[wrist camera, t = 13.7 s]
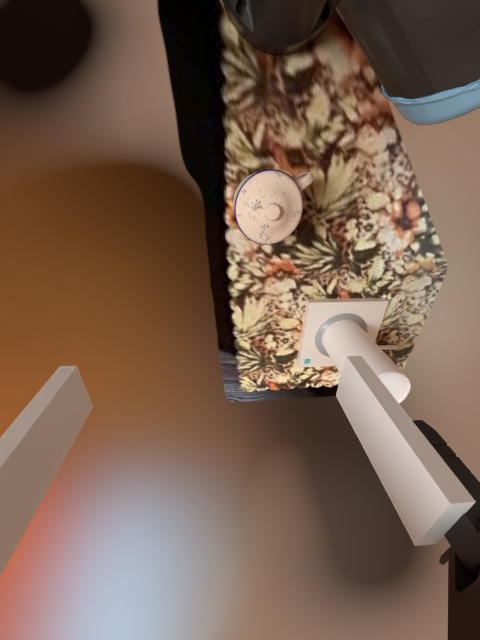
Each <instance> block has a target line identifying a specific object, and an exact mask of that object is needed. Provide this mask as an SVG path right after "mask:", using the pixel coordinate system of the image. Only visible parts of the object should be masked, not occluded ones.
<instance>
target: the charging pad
mask: <svg viewBox="0 0 480 640" xmlns="http://www.w3.org/2000/svg"><path fill="white" fill-rule="evenodd" d="M388 302H389V301H388V300H387V299H385V298H353V299H307V302H306V308H305V314H304V321H303V327H302V333H301V340H300V346H299V352H298V359H297V365H298V367H319V366H335V364H334V363H333V361H332V359H331V358H330V356H329V354H328V353H327V351H326V349H325V348H324V346H323V344H322V336H323V333H324V331H325V330H326V329H327V328H328V327H329V326H330V325H331V324H333V323H335V322H337V321H340V320H352V321H354V322H356V323H357V324H358V325H359V326H360V327H361V328H362V329H363V330H364V331H365V332H366V333H367V335H368V336H369V337H370V338H371V339H372V340H373V341H374V342H375V341H376V338H377V335H378V332H379V329H380V326H381V323H382V320H383V317H384V314H385V311H386V308H387V305H388ZM378 346H379V347H380V348H381V350H387V349H398V345H378Z"/></svg>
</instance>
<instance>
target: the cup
mask: <svg viewBox="0 0 480 640" xmlns="http://www.w3.org/2000/svg"><path fill="white" fill-rule="evenodd" d="M322 344H323V346H324V348H325V349H326V351H327V353H328V354H329V356H330V358H331V359H332V361H333V363H334V364H335V366H336V368H337V369H338V371H339V372H340V374H341V375H342V372H343V368H344V364H345V361H346V357H347V356H362V357H363V359H364V360H365V361H366V362H367V364H368V365H369V366H370V367H371V369H372V370H373V371H374V373H375V374H376V375H377V376H378V378H379V379H380V380H381V381H382V383H383V384H384V385H385V387H386V388H387V389H388V390H389V392H390V393H391V394H392V395H393V397H394V398H395V399H396V401H397V402H398V403H401V402H402V401H403V400H404V399H405V398H406V397H407V395H408V394H409V392H410V388H411V384H410V381H409V379H408V378H407V377H406V375H405V374H404V373H403V372H402V371H401V370H400V369H399V368H398V367H397V366H396V365H395V364H394V362H393V361H392V360H391V359H390V358H389V357H388V356H387V355H386V354H385V353H384V352H383V351H382V350H381V348H380V347H379V346H378V345H377V344H376V343H375V342H374V341H373V340H372V339H371V338H370V337H369V336H368V335H367V333H366V332H365V331H364V330H363V329H362V328H361V327H360V326H359V325H358V324H357V323H356V322H354V321H352V320H340V321H337V322H335V323H333V324H331V325H330V326H329V327H328V328H327V329H326V330H325V331H324V333H323V336H322Z"/></svg>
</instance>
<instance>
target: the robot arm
mask: <svg viewBox="0 0 480 640" xmlns="http://www.w3.org/2000/svg"><path fill="white" fill-rule="evenodd" d="M222 2H223V4H224V7H225V9H226V12H227V14H228V16H229V18H230V20H231V22H232V23H233V25H234V27H235V28H236V30H237V31H238V32H239V34H240V35H241V36H242V37H243V38H244V39H245V40H246V41H247V42H248V43H249V44H251V45H252V46H254V47H255V48H257V49H259V50H261V51H263V52H266V53H270V54H276V55H281V54H288V53H292V52H295V51H297V50H299V49H301V48H303V47H304V46H306V45H307V44H309V43H310V42H311V41H312V40H313V39H315V38H316V37H317V35H318V34H319V33H320V32H321V31H322V30H323V28H324V27H325V26H326V24H327V23H328V21H329V20H330V19H331V17H332V16H333V14H334V12H335V11H337V13H338V14H339V16H340V17H341V19H342V21H343V22H344V24H345V26H346V27H347V29H348V30H349V32H350V34H351V35H352V37H353V38H354V40H355V42H356V43H357V45H358V47H359V48H360V50H361V51H362V53H363V55H364V56H365V58H366V60H367V61H368V63H369V64H370V66H371V68H372V69H373V71H374V72H375V74H376V76H377V77H378V79H379V81H380V82H381V84H382V86H381V88H382V92H383V94H384V96H385V97H386V98H388V99H389V100H390V101H392V102H393V103H394V105H395V106H396V107H397V109H398V110H399V111H400V113H401V115H402V116H403V117H404V118H405V119H406V120H408V121H410V122H412V123H414V124H417V125H431V124H437V123H441V122H445V121H448V120H451V119H454V118H457V117H459V116H462V115H465V114H467V113H469V112H472V111H474V110H476V109H478V108H480V0H222ZM336 397H337V399H338V401H339V402H340V404H341V406H342V408H343V410H344V412H345V414H346V416H347V418H348V419H349V421H350V423H351V425H352V427H353V429H354V431H355V433H356V435H357V436H358V438H359V440H360V442H361V444H362V446H363V448H364V450H365V452H366V454H367V455H368V457H369V459H370V461H371V463H372V465H373V467H374V469H375V471H376V472H377V474H378V476H379V478H380V480H381V482H382V484H383V486H384V487H385V490H386V491H387V493H388V495H389V497H390V499H391V501H392V503H393V504H394V507H395V508H396V510H397V512H398V514H399V516H400V518H401V520H402V522H403V524H404V526H405V527H406V529H407V531H408V533H409V535H410V537H411V538H412V541H413V542H414V544H415V546H419V545H430V544H437V543H438V542H439V541H440V540H441V539H442V538H443V537H444V536H445V537H446V539H447V540H448V542H449V543H450V545H451V547H450V548H449V549H448V550H447V551H446V552H445V553H444V554H443V555H442V556H441V558H440V561H439V563H441V564H443V565H444V564H445V563H446V562H447V561H448V560H449V569H448V572H449V573H448V640H480V482H479V481H478V480H477V479H476V478H475V476H474V475H473V474H472V473H471V472H470V470H469V469H468V468H467V467H466V466H465V465H464V464H463V462H462V461H461V460H460V459H459V458H458V457H456V454H455V453H454V452H453V450H452V449H451V448H450V447H449V446H447V443H446V442H445V441H444V440H443V439H442V437H441V436H440V435H439V434H438V433H437V432H436V431H435V430H434V429H433V428H432V427H430V426H429V425H428V424H426V423H425V422H423V421H422V420H416V421H412V420H411V418H410V417H409V416H408V415H407V413H406V412H405V411H404V410H403V408H402V407H401V406H400V405H399V403H398V402H397V401H396V399H395V398H394V397H393V395H392V394H391V393H390V392H389V390H388V389H387V388H386V387H385V385H384V384H383V383H382V381H381V380H380V379H379V378H378V376H377V375H376V374H375V373H374V371H373V370H372V369H371V367H370V366H369V365H368V364H367V362H366V361H365V360H364V359H363V357H362V356H347V357H346V361H345V364H344V368H343V372H342V375H341V379H340V382H339V386H338V390H337V393H336ZM92 408H93V405H92V403H91V401H90V398H89V395H88V393H87V390H86V388H85V386H84V383H83V380H82V378H81V375H80V373H79V370H78V368H77V366H61V367H59V368H58V369H57V371H56V372H55V373H54V374H53V375H52V377H51V378H50V379H49V380H48V381H47V383H46V384H45V385H44V386H43V387H42V389H41V390H40V391H39V392H38V394H37V395H36V396H35V397H34V398H33V399H32V401H31V402H30V403H29V404H28V405H27V407H26V408H25V409H24V410H23V411H22V413H21V414H20V415H19V416H18V417H17V418H16V420H15V421H14V422H13V423H12V424H11V426H10V427H9V428H8V430H6V432H5V433H4V434H3V435H2V437H1V438H0V576H1V574H2V572H3V571H4V569H5V567H6V565H7V563H8V561H9V560H10V557H11V556H12V554H13V552H14V550H15V549H16V547H17V545H18V543H19V541H20V540H21V538H22V536H23V534H24V532H25V530H26V528H27V527H28V525H29V523H30V521H31V519H32V517H33V516H34V514H35V512H36V510H37V508H38V507H39V505H40V503H41V501H42V499H43V497H44V496H45V494H46V492H47V490H48V488H49V486H50V484H51V483H52V481H53V479H54V477H55V475H56V473H57V472H58V470H59V468H60V466H61V464H62V462H63V461H64V459H65V457H66V455H67V453H68V451H69V450H70V448H71V446H72V444H73V442H74V441H75V439H76V437H77V435H78V433H79V431H80V430H81V428H82V426H83V424H84V422H85V420H86V419H87V417H88V415H89V413H90V411H91V409H92Z"/></svg>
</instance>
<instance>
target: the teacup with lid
mask: <svg viewBox="0 0 480 640" xmlns="http://www.w3.org/2000/svg"><path fill="white" fill-rule="evenodd" d="M313 180H314V176H313V174H312V173H311V172H306V173H304V174H301V175H299V176H298V177H296V178H294V179H293V178H292V177H290V176H289V175H288V174H286V173H284V172H282V171H279V170H272V169H270V170H263V171H260V172H257V173H254V174H251V175H249V176H248V177H246V178H245V179H244V180H243V181H242V182H241V183H240V184H239V186H238V188H237V190H236V192H235V195H234V201H233V206H234V212H235V218H236V222H237V224H238V227H239V229H240V230H241V232H242V233H243V234H244V235H245V236H246V237H247V238H248V239H250V240H251V241H253V242H256V243H259V244H274V243H277V242H280V241H282V240H284V239H285V238H287V237H288V236H289V235H290V234H291V233H292V232H293V231H294V230H295V228H296V227H297V225H298V223H299V221H300V219H301V215H302V211H303V199H302V194H301V191H302V190H303V189H305V188H306V187H308V186H309V185H310V184H311V183H312V182H313Z"/></svg>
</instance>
